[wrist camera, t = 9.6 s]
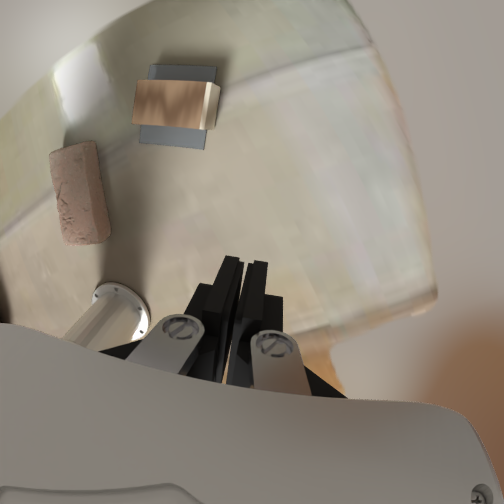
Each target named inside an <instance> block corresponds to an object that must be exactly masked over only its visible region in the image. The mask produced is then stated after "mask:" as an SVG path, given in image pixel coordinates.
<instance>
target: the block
mask: <svg viewBox="0 0 504 504" xmlns="http://www.w3.org/2000/svg"><path fill="white" fill-rule="evenodd" d="M220 89H221V88H220V87H219V86H217V85H215V84H214V83H212V82H199V81H180V80H138V81H137V87H136V94H135V101H134V108H133V116H132V124H142V125H158V126H171V127H182V128H193V129H202V130H214V126H215V119H216V113H217V107H218V101H219V95H220Z"/></svg>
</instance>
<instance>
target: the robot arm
mask: <svg viewBox="0 0 504 504" xmlns="http://www.w3.org/2000/svg"><path fill="white" fill-rule="evenodd" d="M267 267H268V262H263V261H257V260H254V264H252V263H248V267H247V271H246V275H245V279H244V283H243V287H242V291H241V295H240V289H241V282H242V275H243V268H244V262H240V261H239V258H238V257H232V256H225V258H224V260H223V263H222V265H221V267H220V270H219V272H218V274H217V277H216V279H215V281H214V283H213V285H209V284H203V283H200V284H199V285H198V287H197V289H196V291H195V293H194V295H193V297H192V299H191V301H190V303H189V305H188V307H187V308H186V310H185V312H184V314H174V315H169V316H167V317H164V318H163V319H162V320H160V321H159V322H158V323H157V325H156V326H155V327H154V328H153V329H152V330H151V331H150V332H149V334H148V335H147V336H146V337H145V338H144V339H142V340H138V341H135V342H131V343H130V341H131V340H135V339H139V338H141V337H142V336H144V335H145V333H146V332H147V330H148V328H149V325H150V316H149V312H148V310H147V307H146V305H145V304H144V302H143V301H142V299H141V298H140V297H139V296H138V295H137V294H136V293H135V292H134V291H132V290H131V289H129V288H128V287H126V286H124V285H122V284H119V283H113V282H109V283H104V284H102V285H100V286H99V287H98V288H97V289H96V290H95V291H94V293H93V296H92V306H91V307H90V308H89V309H88V310H87V311H86V312H85V313H84V314H83V316H82V317H81V318H80V319H79V320H78V321H77V322H76V323H75V324H74V325H73V326H72V327H71V329H70V330H69V331H68V332H67V333H66V334H65V335H64V336H63V337H62V339H60V338H58V337H55V336H52V335H49V334H46V333H44V332H41V331H38V330H35V329H32V328H28V327H25V326H20V325H15V324H6V323H0V504H504V499H503V496H502V492H501V489H500V485H499V482H498V479H497V476H496V474H495V471H494V468H493V466H492V463H491V460H490V458H489V455H488V453H487V451H486V449H485V447H484V445H483V443H482V441H481V439H480V437H479V435H478V433H477V432H476V430H475V429H474V427H473V426H472V424H471V423H470V422H469V421H468V420H467V419H466V418H465V417H464V416H463V415H461V414H459V413H458V412H456V411H453V410H451V409H448V408H445V407H441V406H438V405H434V404H427V403H422V402H412V401H391V400H368V399H348V398H347V397H345V396H344V395H343V394H341V393H340V392H339V391H337V390H336V389H335V388H333V387H332V386H331V385H329V384H328V383H327V382H325V381H324V380H322V379H321V378H320V377H319V376H317V375H316V374H315V373H313V372H312V371H311V370H309V369H308V368H307V367H305V366H304V365H303V361H302V357H301V354H300V350H299V347H298V344H297V342H296V341H295V340H294V339H293V338H292V337H291V336H289V335H288V334H286V333H283V297H280V296H274V295H267V294H265V286H266V277H267ZM239 296H240V299H239ZM231 341H232V343H231ZM230 345H231V351H230V358H229V366H228V373H227V381H226V384H221V383H222V379H223V375H224V371H225V367H226V362H227V358H228V354H229V350H230Z"/></svg>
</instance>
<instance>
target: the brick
mask: <svg viewBox="0 0 504 504" xmlns="http://www.w3.org/2000/svg"><path fill="white" fill-rule="evenodd" d="M49 159H50V168H51V176H52V181H53V185H54V190H55V192H56V194H57V195H56V198H57V209H58V212H59V213H60V215H59V217H60V225H61V231H62V236H63V241H64V243H65V244H66V245H72V246H75V245H90V244H97V243H102V242H104V241H105V240H106V239H107V238H108V237H109V235H111V226H110V220H109V217H108V215H107V213H108V209H107V207H106V201H105V195H104V191H103V185H102V181H101V174H100V169H99V160H98V154H97V148H96V143H95V141H86V142H82V143H80V144H75V145H71V146H68V147H65V148H61V149H58V150H55V151H53V152H51V153H50V154H49Z"/></svg>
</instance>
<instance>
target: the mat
mask: <svg viewBox="0 0 504 504" xmlns="http://www.w3.org/2000/svg"><path fill="white" fill-rule="evenodd" d="M216 70H217V67H211V66H194V65H150V69H149V75H148V80H180V81H199V82H212V83H214V81H215V76H216ZM206 131H207V130H202V129H193V128H182V127H171V126H158V125H142V124H141V131H140V141H139V143H146V144H157V145H168V146H177V147H186V148H194V149H202V150H204V145H205V138H206Z"/></svg>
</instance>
